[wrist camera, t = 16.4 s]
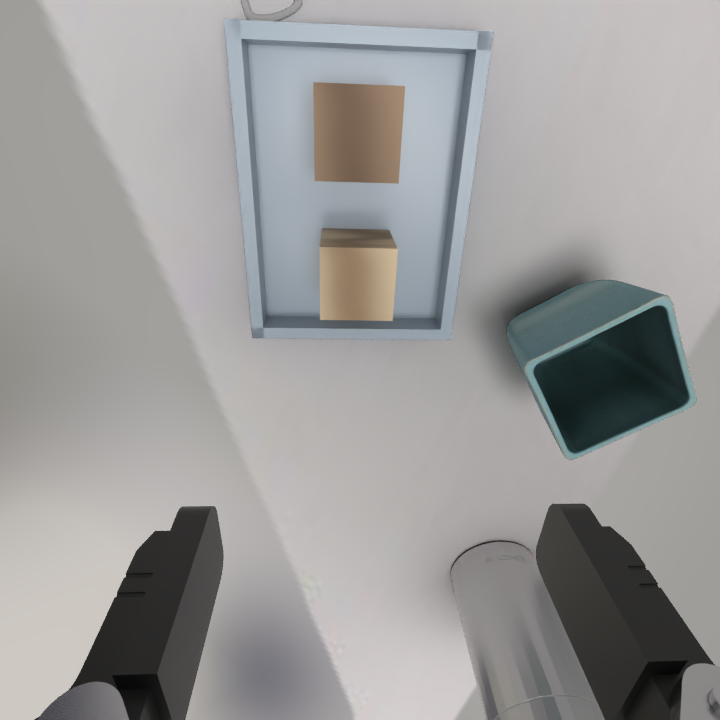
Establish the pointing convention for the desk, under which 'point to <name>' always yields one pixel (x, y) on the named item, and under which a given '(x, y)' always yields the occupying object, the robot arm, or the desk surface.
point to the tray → (353, 199)
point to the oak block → (357, 274)
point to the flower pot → (602, 362)
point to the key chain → (270, 17)
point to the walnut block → (357, 132)
